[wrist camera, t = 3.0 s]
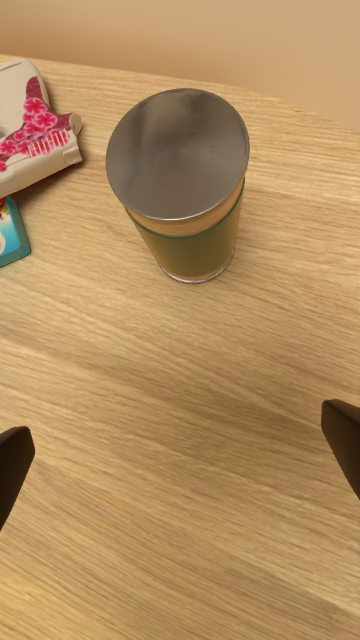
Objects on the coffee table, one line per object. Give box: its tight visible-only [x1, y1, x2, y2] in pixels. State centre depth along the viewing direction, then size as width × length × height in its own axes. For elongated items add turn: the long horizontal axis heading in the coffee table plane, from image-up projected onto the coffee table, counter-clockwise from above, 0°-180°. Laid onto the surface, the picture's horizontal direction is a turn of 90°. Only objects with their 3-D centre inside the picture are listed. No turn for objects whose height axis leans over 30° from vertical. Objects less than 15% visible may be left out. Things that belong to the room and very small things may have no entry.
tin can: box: [106, 88, 250, 284], centre depth 18 cm, size 7×7×11 cm
